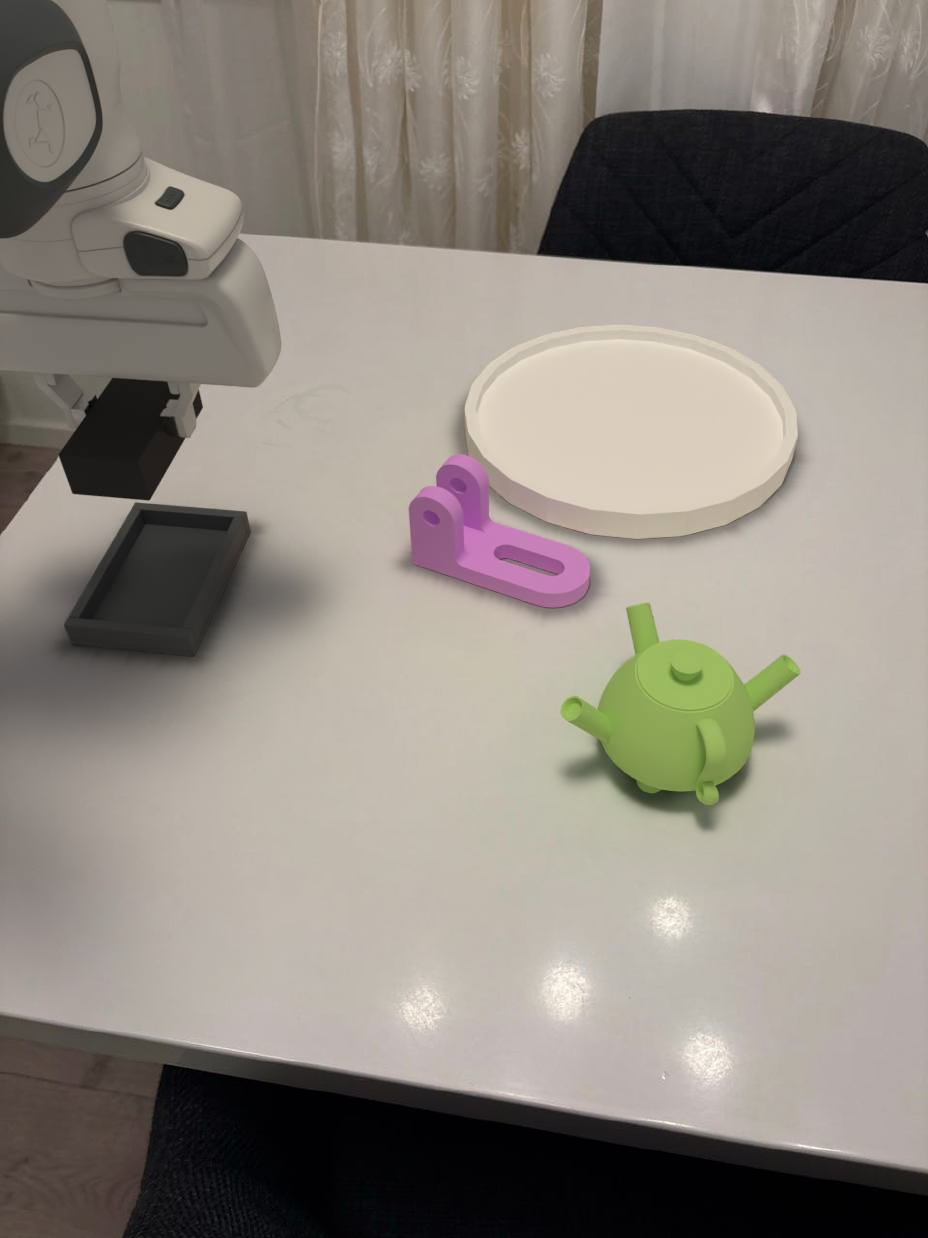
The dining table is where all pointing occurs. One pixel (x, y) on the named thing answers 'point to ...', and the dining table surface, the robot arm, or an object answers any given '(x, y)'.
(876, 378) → the dining table surface
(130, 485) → the black rectangular block
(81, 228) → the robot arm
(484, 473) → the bracket
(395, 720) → the dining table surface
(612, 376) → the plate
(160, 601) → the base tray
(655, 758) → the teapot
